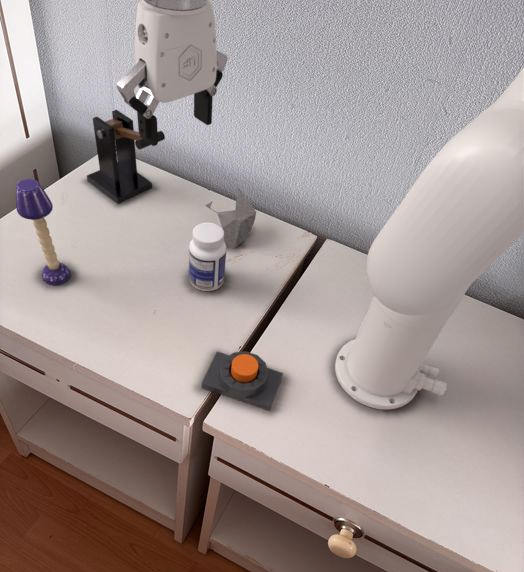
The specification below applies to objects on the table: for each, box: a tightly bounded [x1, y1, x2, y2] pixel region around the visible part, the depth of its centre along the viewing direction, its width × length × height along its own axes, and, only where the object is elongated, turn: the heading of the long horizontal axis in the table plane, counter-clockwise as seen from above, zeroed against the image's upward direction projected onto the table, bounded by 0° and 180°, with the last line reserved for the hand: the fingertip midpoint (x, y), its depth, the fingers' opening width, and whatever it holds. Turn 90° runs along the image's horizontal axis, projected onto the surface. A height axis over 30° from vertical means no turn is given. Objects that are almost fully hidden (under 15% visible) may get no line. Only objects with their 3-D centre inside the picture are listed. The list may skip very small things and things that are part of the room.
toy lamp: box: [15, 178, 71, 286], centre depth 74 cm, size 5×5×17 cm
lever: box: [104, 118, 166, 150], centre depth 86 cm, size 12×5×2 cm, turn 48°
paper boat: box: [204, 185, 257, 249], centre depth 90 cm, size 12×6×9 cm
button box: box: [200, 350, 284, 412], centre depth 71 cm, size 10×6×3 cm, turn 73°
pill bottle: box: [188, 221, 227, 292], centre depth 80 cm, size 6×6×10 cm
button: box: [231, 354, 258, 383], centre depth 70 cm, size 4×4×2 cm
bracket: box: [86, 109, 153, 205], centre depth 92 cm, size 9×8×13 cm
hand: (176, 130), depth 72 cm, fingers open, 9 cm apart
